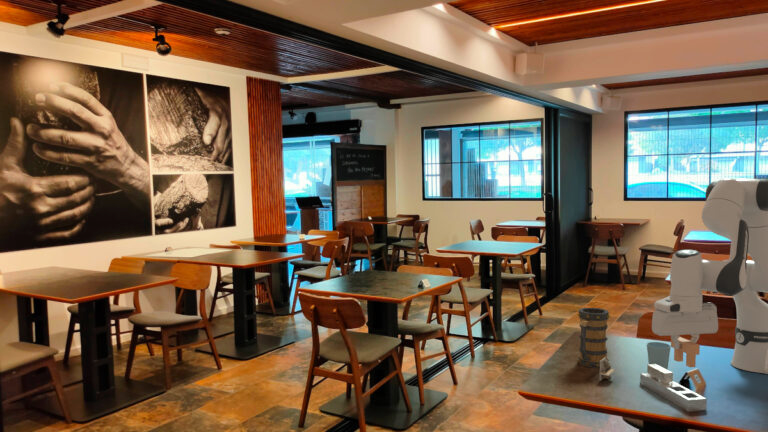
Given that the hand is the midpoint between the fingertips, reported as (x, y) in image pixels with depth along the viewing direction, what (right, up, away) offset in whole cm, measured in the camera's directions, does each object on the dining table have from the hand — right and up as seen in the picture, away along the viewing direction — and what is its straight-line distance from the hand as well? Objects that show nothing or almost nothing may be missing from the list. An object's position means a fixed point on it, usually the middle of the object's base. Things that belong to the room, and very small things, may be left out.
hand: (684, 348), depth 177 cm
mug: (-15, -15, +39) cm, 45 cm away
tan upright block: (0, -5, 0) cm, 5 cm away
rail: (-1, -17, +7) cm, 18 cm away
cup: (+5, -16, +28) cm, 33 cm away
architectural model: (-15, -17, +23) cm, 32 cm away
